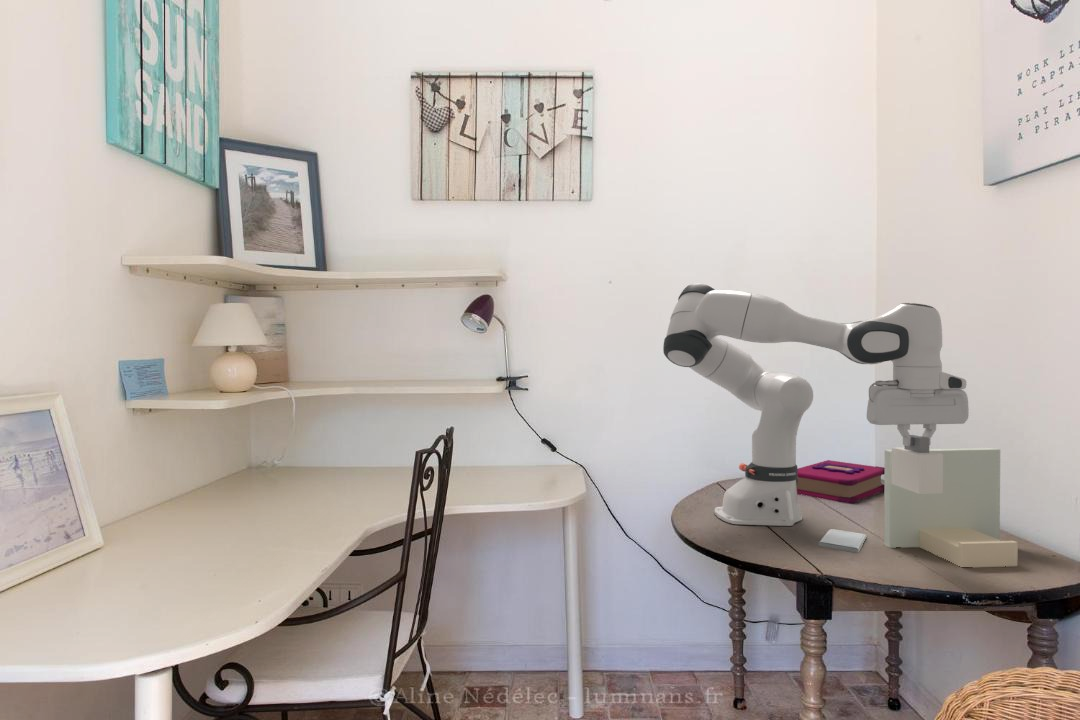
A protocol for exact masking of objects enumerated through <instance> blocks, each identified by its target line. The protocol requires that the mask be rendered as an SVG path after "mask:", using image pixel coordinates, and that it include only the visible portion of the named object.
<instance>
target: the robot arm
mask: <svg viewBox="0 0 1080 720" xmlns="http://www.w3.org/2000/svg"><path fill="white" fill-rule="evenodd" d="M677 299H678V300H677V303H676V304H675V307H674V308H673V310H672V313H671V315H670V318H669V319H670V321H669V323H668V328H667V332H666V336H665V338H664V340H663V346H662V347H663V354H664V357H666V359H667V360H668V361H670V363H672V364H674V365H676V366H678V367H683V368H689V369H691V370H692V371H693V372H695V373H697V374H698V375H700V376H702V377H703V378H705V379H707V380H709V381H710V382H712V383H714V384H716V385H718V386H719V387H721V388H723V389H724V390H726V391H728V392H729V393H730V394H732V395H733V396H734V397H736V398H737V399H738V400H740V401H741V402H742V403H744V404H745V405H747V406H748V407H749V408H751V409H754V410H756V411H761V415H760V419H759V423H758V425H757V428H756V429H755V430H754V431H753V433H752V436H751V462H750V463H749V464H748V465H747V464H745V463H744V462H741V463H739V465H738V469H739V470H740V471H742V472H745V473H744V474H745V476H744V477H742V478H741V479H740V480H738V481H737V482H736V483H734V484H733V485H732V486H730V487H729V488H727V489H726V491H725V492H724V494H723V498H722V506H716V507H715V508H714V512H713V513H714V515H715V516H716V517H717V518H719V519H720V520H722V521H723V522H726V523H729V524H731V525H747V526H748V525H749V526H750V525H751V526H753V525H754V526H779V527H780V526H781V527H785V526H787V527H790V526H791V527H792V526H794V525H795V523H798V522H800V521H802V520H803V514H802V511H801V508H800V504H799V503H800V502H799V498H798V494H797V486H796V485H797V482H798V470H797V469H798V465H797V464H796V462H797V461H796V459H797V458H796V457H797V456H796V455H797V436H798V435H797V434H798V430H799V426H800V424H801V420H802V418H803V415H804V414H805V413H806V411H808V410H809V408H810V407H811V405H812V403H813V401H814V390H813V387H812V385H811V383H810V382H809V381H808V380H806V379H804V378H803V377H801V376H798V375H796V374H793V373H788V372H778V371H773V370H769V369H767V368H764V367H763V366H761V365H760V364H758V362H756V361H755V360H754V359H753V357H752V356H751V354H749V353H747V352H746V351H744V350H743V349H741V348H739V347H737V346H736V345H733V344H732V343H730V342H729V341H727V340H725V339H723V338H721V337H719V336H723V337H729V338H733V339H736V340H741V341H744V342H751V343H758V344H779V343H790V342H791V343H802V344H807V345H812V346H815V347H820V348H825V349H830V350H834V351H836V352H839V353H840V354H841V355H843V356H844V357H845V358H846V359H848V360H850V361H851V362H854V363H856V364H859V365H877V364H882V363H884V362H892V380H875V382H873V383H872V384H870V386H869V387H868V401H867V408H866V420H867V421H868V422H869V424H871V425H878V426H896V427H897V431H898V432H899V433H900V435H901V437H902V445H903V446H904V445H905V446H914V445H915V443H914V441H915V438H913V437H911V436H910V435H911V434H910V432H909V430H910V431H911V425H922V428H923V429H924V431H923V433H922V435H921V437H925V438H929V446H931V443H932V442H931V439H932V437H933V435H934V433H935V432H936V430H937V425H959V424H960V425H964V424H965V423H967V421H968V419H969V410H970V409H969V398H968V394H967V392H966V391H965V390H964V389H966V388H967V380H966V379H965V378H963V377H959V376H956V375H953V374H950V373H946V372H944V371H943V364H942V361H941V351H942V347H943V325H942V320H941V315H940V313H939V310H937V309H936V308H935V307H933V306H931V305H929V304H928V305H927V304H923V303H915V302H913V303H910V302H902V303H899V304H897V305H896V306H895V307H893V308H892V309H890V310H888V311H886V312H883V313H881V314H879V315H877V316H874V317H871V318H869V319H866V320H865V319H864V320H860V321H855V322H848V323H846V322H845V323H841V322H836V321H830V320H825V319H821V318H816V317H811V316H808V315H805V314H802V313H800V312H798V311H796V310H794V309H792V308H791V307H789V306H788V305H787V304H785V303H784V302H783V301H780V300H777V299H775V298H772V297H769V296H766V295H763V294H759V293H752V292H748V291H741V290H734V289H733V290H731V289H728V290H727V289H715V288H713V287H711V286H709V285H707V284H704V283H692V284H689V285H687V286H685V288H684V289H682V291H681V293H680V294H679V296H678V298H677Z"/></svg>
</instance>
